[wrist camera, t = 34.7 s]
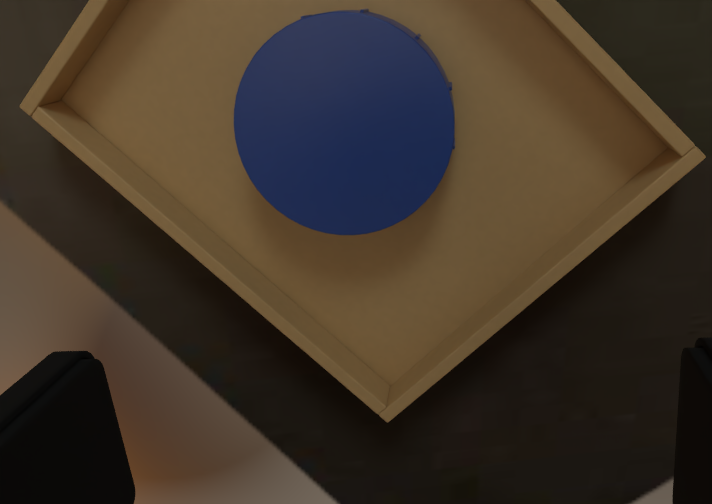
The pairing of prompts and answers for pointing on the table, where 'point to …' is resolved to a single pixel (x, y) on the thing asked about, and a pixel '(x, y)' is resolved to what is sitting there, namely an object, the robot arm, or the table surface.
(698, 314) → the table surface
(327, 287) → the tray
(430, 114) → the lid
